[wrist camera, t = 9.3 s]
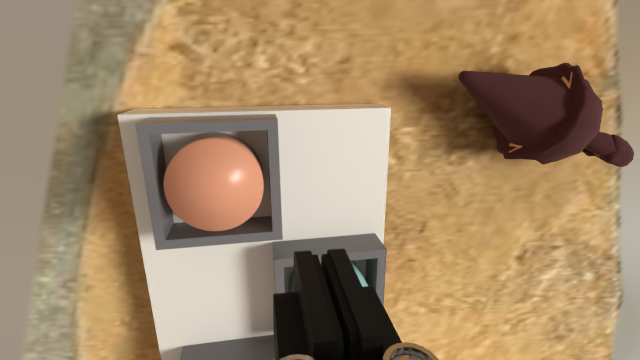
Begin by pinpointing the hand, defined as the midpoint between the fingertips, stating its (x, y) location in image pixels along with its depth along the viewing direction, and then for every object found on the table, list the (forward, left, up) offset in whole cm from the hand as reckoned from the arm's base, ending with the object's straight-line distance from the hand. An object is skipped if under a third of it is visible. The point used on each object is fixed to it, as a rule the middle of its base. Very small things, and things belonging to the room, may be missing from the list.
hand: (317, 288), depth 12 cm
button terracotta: (0, -4, -13) cm, 13 cm away
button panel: (+9, -1, -16) cm, 18 cm away
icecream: (-4, +19, -16) cm, 25 cm away
